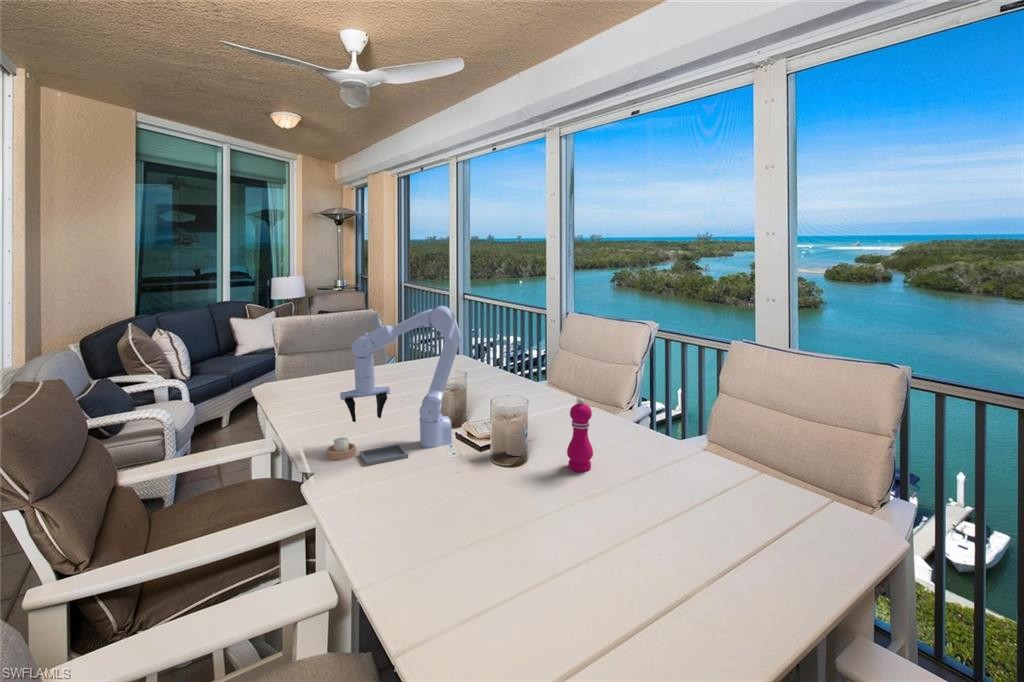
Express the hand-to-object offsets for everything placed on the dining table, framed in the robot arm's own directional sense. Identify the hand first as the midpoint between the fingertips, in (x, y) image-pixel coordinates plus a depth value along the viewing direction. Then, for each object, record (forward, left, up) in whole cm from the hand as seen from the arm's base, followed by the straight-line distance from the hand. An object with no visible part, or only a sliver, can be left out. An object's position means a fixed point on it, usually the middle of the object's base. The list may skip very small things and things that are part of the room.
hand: (366, 419), depth 150 cm
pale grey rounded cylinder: (+8, +4, -9) cm, 13 cm away
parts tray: (-2, +11, -9) cm, 15 cm away
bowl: (+9, +4, -9) cm, 13 cm away
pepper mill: (-48, +44, -10) cm, 66 cm away
